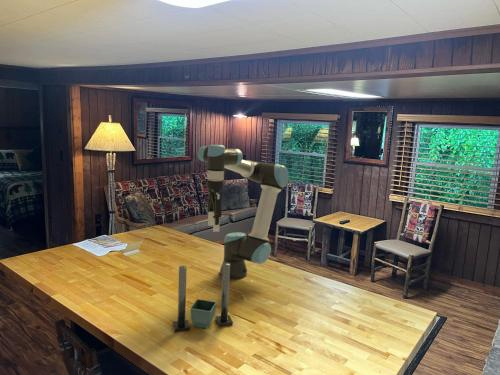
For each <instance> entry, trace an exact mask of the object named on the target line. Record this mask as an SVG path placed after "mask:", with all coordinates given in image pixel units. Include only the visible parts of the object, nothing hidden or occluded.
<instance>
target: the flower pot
mask: <svg viewBox="0 0 500 375" xmlns="http://www.w3.org/2000/svg"><path fill="white" fill-rule="evenodd" d="M216 308H217V301H212V300H206V299H199V298H197V299H196V300H195V301H194V302H193V304H192V305H191V306H190V308H189V309H190V317H191V318H190V319H191V321H192V324H193V325H194V326H195V327H196V328H202V329H208V328H209V326H210V324H211V322H212V321H213V319H214V317H215V314H216Z"/></svg>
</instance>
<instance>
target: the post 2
mask: <svg viewBox="0 0 500 375" xmlns="http://www.w3.org/2000/svg"><path fill="white" fill-rule="evenodd" d="M222 263H223V262H222ZM221 276H222V278H221V279H222V280H221V297H220V298H221V301H220V302H221V303H220V315H219V316H218V315H217V316H215V315H214V317H215V318H214V319H215V322H216V324H217V326H218V328H220V327H228V326H233V324H234V322H233V320H232V318H231V316H230V315H229V299H230V298H229V295H230V279H231V278H230V263H223V272H222V275H221Z"/></svg>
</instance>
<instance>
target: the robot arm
mask: <svg viewBox="0 0 500 375" xmlns="http://www.w3.org/2000/svg"><path fill="white" fill-rule="evenodd" d="M197 157H198V160H199V161H201V162H204V163H207V170H206V172H205V174H206V179H207V180H206V189H208V196H207V207H206V209H207V210H208V213H207V214H208V216H207V226H212V231H213V233H216V232H217V233H219V232H220V227H221V226H220V222H221V218H222V194H221V193H220V190H223V189H224V186H225V184H224V183H225V182H224V180H225V169H227V170H229V171H232V172H235V173H238V174H240V175H241V177H244V178H245V179H249V180H251V181H252V182H256V183H258V184H260V188H261V189H262V190H261V193H260V198H259V201H258V205H257V210H256V213H255V218H254V221H253V225H252V229H251V232H250V233H248V234H247V235H246V233H245V232H239V231H238V232H230V233H227V234H226V235H225V236H224V241H223V261H222V264H221V265H220V270H219V274H220V275H221V276H222V272H223V263H230V278H229V279H234V280H235V279H236V280H237V279H242V278H245V277H246V276H247V275H248V268H247V264H246V262H245V261H248V262H251V263H253V264H258V265H262V264H264V263H266V262H267V261H268V259H269V258H270V255H271V253H272V246H271V244H270V243H269V241H270V239H269V238H268V234H269V230H270V225H271V222H272V218H273V214H274V210H275V206H276V203H277V198H278V194H279V193H280V192H282V189H283V188H284V187H285V188H286V186H287V185H288V182H289V178H290V177H289V171H288V169H287V167H286V166H285V165H282V164H278V163H272V162H271V163H269V162H265V161H264V162H262V161H261V162H260V161H253V160H250V159H246V160H245V159H243V158H244V156H243V152H242V150H240V149H239V148H233V147H232V148H226V147H225V145H223V144H209V145H205V146H204V145H203V146H200V147H199V149H198V152H197Z"/></svg>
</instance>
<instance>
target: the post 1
mask: <svg viewBox="0 0 500 375" xmlns="http://www.w3.org/2000/svg"><path fill="white" fill-rule="evenodd" d="M187 269H188V268H187V266H186V265H180V266H178V288H177V289H178V291H177V293H178V297H177V300H178V301H177V320H174V321H172V327H173V330H174V331H173V332H174V333H182V332H189V331H191V326H190V322H189V320H188V319H186V310H187V309H186V308H187V307H186V305H187V303H186V301H187Z"/></svg>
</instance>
